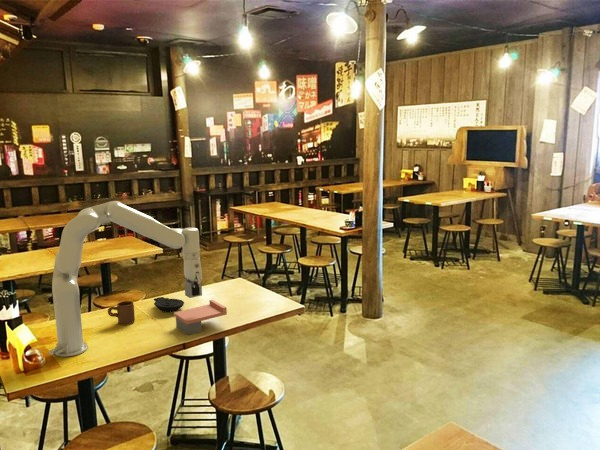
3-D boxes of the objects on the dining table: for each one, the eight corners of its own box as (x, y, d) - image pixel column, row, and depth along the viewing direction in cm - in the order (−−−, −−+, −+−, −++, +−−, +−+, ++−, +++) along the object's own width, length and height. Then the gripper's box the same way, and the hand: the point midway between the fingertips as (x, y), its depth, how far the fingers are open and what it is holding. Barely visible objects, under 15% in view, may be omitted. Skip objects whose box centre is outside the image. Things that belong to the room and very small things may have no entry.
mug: (111, 328, 230) (109, 309, 228) (106, 323, 236) (105, 304, 234) (137, 322, 236) (135, 304, 235) (132, 318, 243) (130, 299, 241)
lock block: (189, 298, 223) (189, 283, 222) (185, 295, 227) (184, 280, 226) (202, 295, 227) (201, 280, 226) (197, 292, 231) (197, 278, 230)
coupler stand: (187, 336, 220) (186, 317, 218) (174, 326, 231) (173, 308, 229) (227, 325, 232) (226, 307, 230) (213, 317, 243) (212, 299, 241)
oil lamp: (171, 301, 266) (171, 292, 265) (190, 311, 252) (189, 301, 251) (145, 308, 257) (144, 299, 256) (163, 318, 242) (162, 308, 241)
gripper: (207, 257, 219) (209, 296, 222) (190, 250, 232) (192, 287, 236) (191, 260, 215) (194, 300, 218) (175, 253, 228) (178, 290, 231)
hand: (193, 293), depth 227 cm, fingers closed on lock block, 5 cm apart
